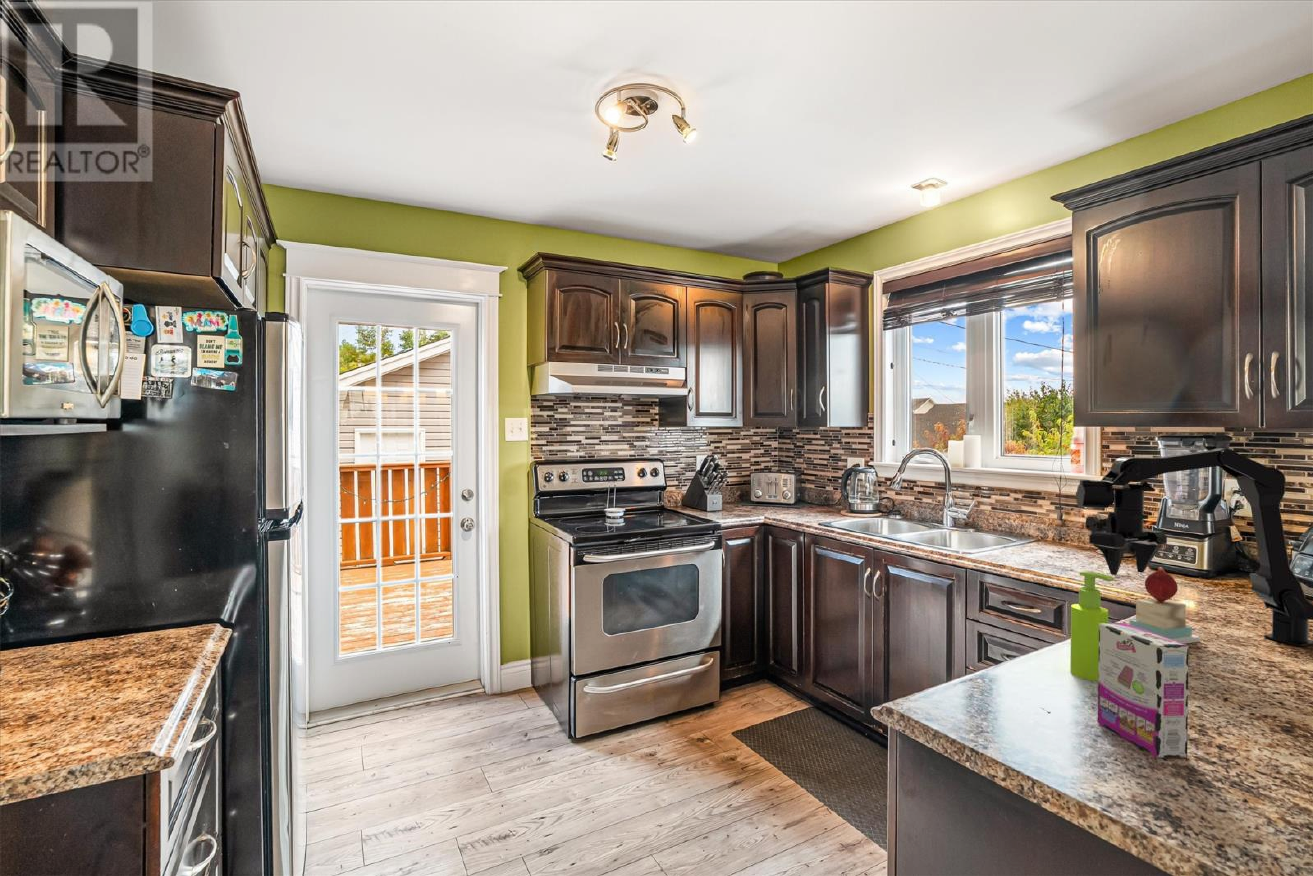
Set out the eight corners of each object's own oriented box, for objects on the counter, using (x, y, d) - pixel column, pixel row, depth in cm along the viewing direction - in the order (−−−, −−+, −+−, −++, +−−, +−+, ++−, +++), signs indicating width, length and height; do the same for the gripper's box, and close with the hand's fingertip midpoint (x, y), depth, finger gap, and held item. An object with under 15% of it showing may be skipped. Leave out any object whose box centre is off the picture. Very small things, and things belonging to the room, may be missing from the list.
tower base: (1151, 627, 147) (1151, 615, 147) (1199, 641, 137) (1199, 628, 137) (1122, 631, 144) (1122, 619, 144) (1169, 646, 134) (1169, 632, 134)
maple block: (1156, 618, 144) (1156, 597, 144) (1185, 626, 139) (1185, 604, 139) (1136, 621, 142) (1136, 599, 142) (1164, 629, 136) (1164, 606, 136)
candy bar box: (1190, 758, 88) (1191, 645, 87) (1158, 760, 87) (1159, 646, 87) (1124, 722, 99) (1125, 621, 99) (1095, 723, 98) (1096, 621, 98)
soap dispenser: (1103, 685, 113) (1104, 578, 113) (1063, 672, 119) (1065, 570, 119) (1120, 680, 115) (1121, 575, 115) (1080, 667, 122) (1081, 567, 121)
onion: (1183, 606, 137) (1183, 570, 137) (1154, 604, 138) (1154, 569, 138) (1167, 599, 143) (1167, 565, 142) (1139, 598, 144) (1139, 564, 144)
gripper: (1121, 504, 158) (1119, 564, 158) (1068, 506, 152) (1067, 568, 152) (1169, 509, 147) (1167, 574, 147) (1114, 512, 141) (1112, 579, 141)
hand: (1127, 573), depth 147 cm, fingers open, 9 cm apart
